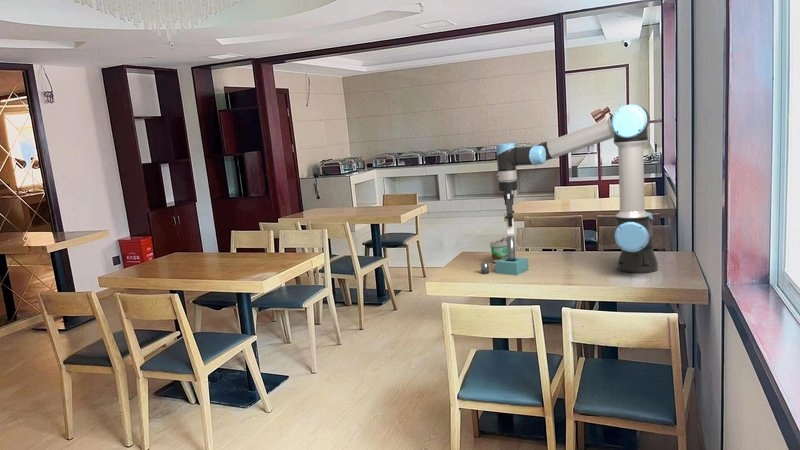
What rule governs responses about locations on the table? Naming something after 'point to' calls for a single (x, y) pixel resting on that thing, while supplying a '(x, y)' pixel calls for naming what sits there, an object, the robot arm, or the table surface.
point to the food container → (499, 249)
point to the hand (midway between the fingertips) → (510, 231)
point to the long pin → (511, 248)
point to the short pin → (484, 268)
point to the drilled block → (511, 266)
